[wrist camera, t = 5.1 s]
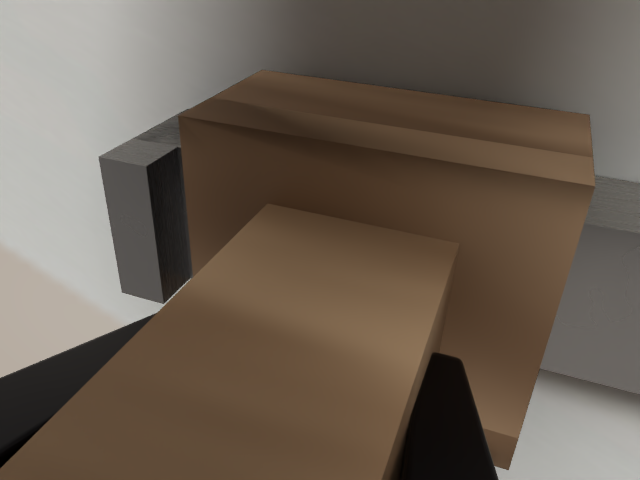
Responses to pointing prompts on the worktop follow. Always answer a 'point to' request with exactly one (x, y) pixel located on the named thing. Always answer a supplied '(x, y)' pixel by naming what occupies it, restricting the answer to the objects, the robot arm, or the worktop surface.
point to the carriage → (336, 285)
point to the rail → (572, 315)
